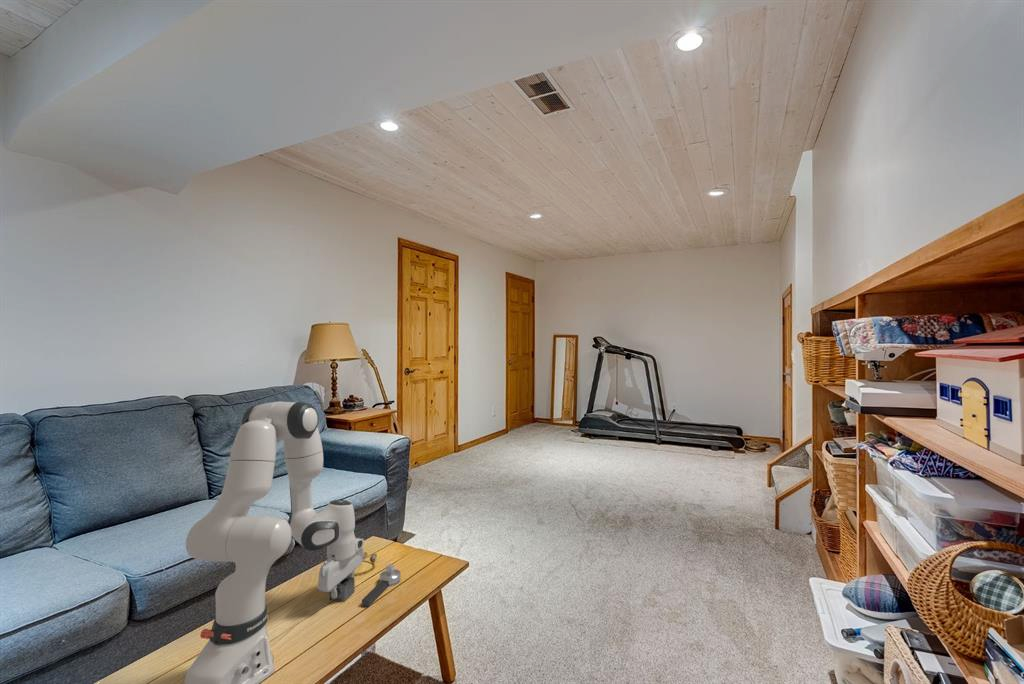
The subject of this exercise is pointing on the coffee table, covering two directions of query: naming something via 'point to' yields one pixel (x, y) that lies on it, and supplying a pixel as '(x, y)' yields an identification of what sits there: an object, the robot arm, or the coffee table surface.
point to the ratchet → (382, 584)
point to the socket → (345, 589)
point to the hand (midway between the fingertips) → (342, 591)
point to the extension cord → (373, 558)
